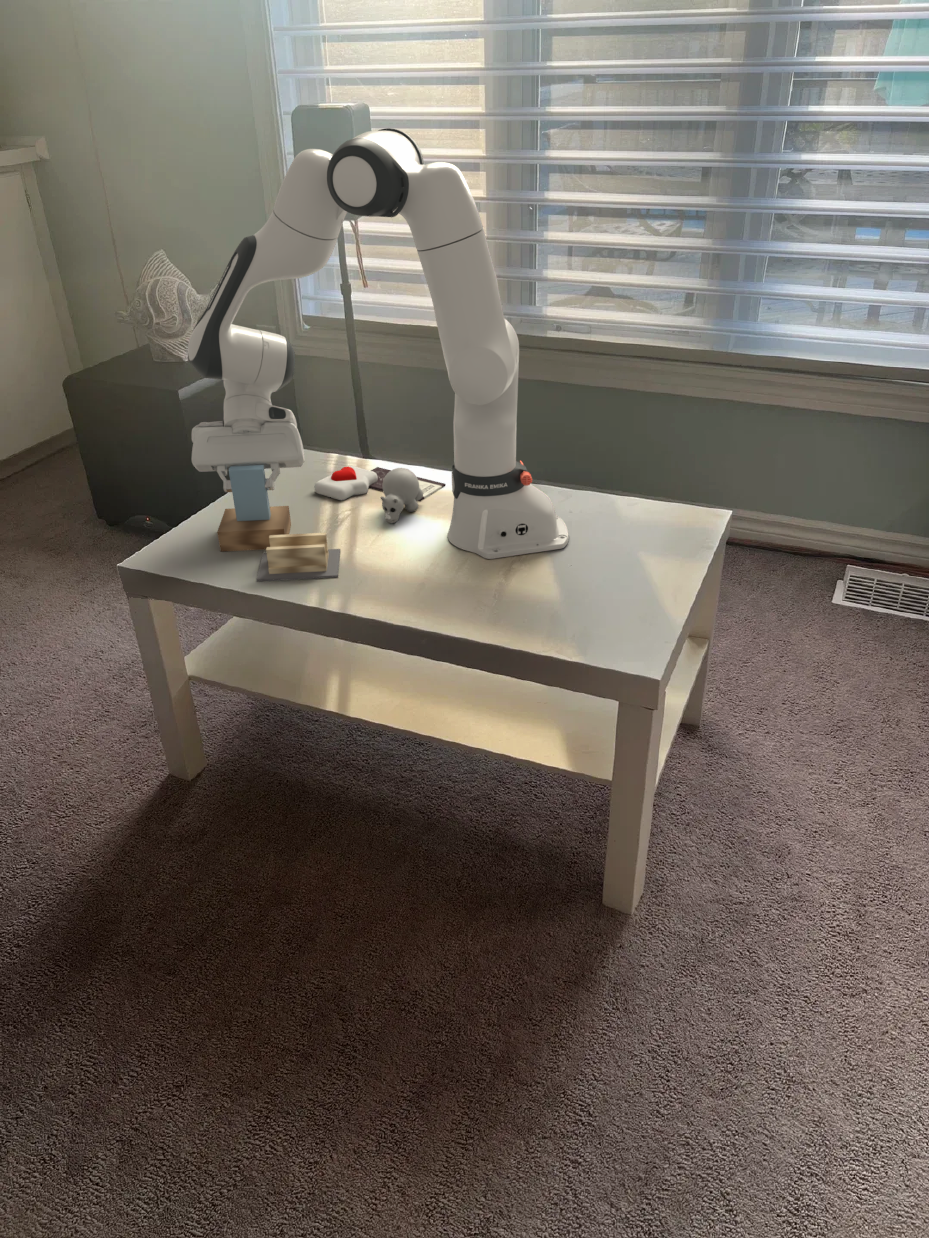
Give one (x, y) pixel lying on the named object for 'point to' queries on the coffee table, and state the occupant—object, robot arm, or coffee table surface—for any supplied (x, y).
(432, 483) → the chocolate bar
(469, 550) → the robot arm
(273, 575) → the mat
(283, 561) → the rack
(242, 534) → the block
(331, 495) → the icon
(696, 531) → the coffee table surface
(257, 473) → the pale blue rectangular prism
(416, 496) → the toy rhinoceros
